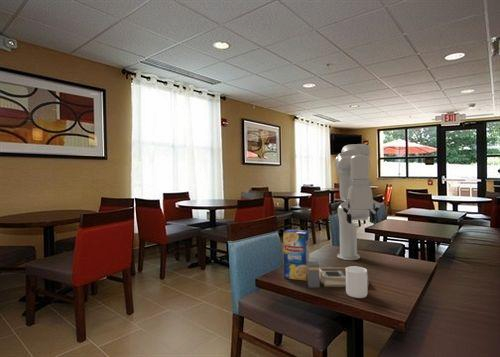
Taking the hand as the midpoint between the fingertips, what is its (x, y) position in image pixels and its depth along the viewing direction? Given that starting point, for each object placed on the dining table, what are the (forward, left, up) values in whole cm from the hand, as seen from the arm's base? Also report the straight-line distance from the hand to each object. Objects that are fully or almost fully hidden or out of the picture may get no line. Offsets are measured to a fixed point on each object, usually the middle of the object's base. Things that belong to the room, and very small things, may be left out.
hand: (360, 222), depth 128 cm
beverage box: (-13, -27, -28) cm, 41 cm away
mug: (+6, -4, -28) cm, 29 cm away
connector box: (-7, -7, -28) cm, 29 cm away
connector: (-2, -21, -28) cm, 35 cm away
